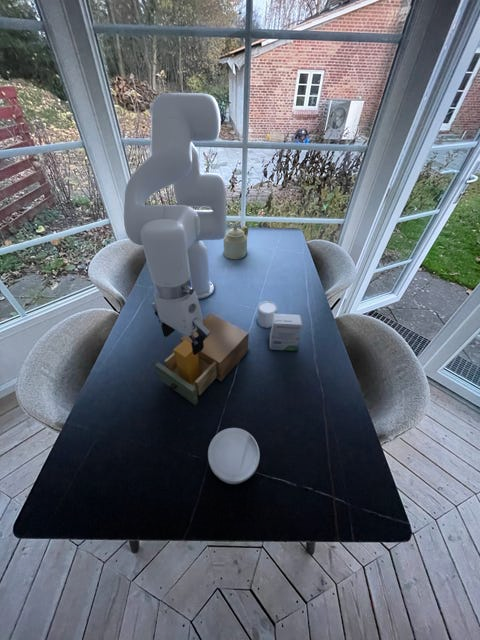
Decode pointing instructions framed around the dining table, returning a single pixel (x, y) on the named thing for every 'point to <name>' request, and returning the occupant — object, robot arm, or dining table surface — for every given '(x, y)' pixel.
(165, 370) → the drawer
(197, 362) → the block
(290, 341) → the ink box
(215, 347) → the cabinet
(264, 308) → the white cylinder
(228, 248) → the sugar bowl
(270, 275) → the dining table surface
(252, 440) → the ramekin
